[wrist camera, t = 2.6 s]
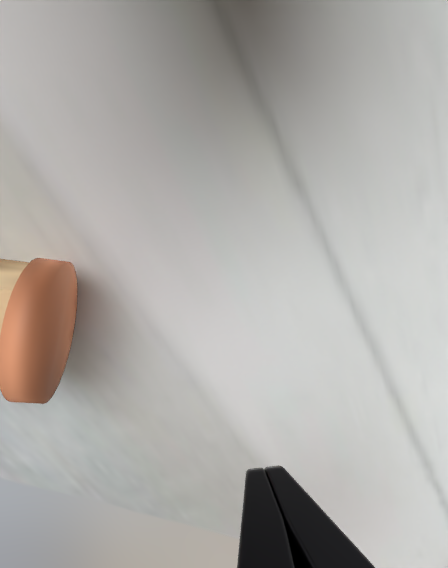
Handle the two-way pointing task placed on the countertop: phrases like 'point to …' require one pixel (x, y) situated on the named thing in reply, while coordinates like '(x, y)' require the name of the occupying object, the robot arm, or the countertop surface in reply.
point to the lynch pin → (35, 327)
